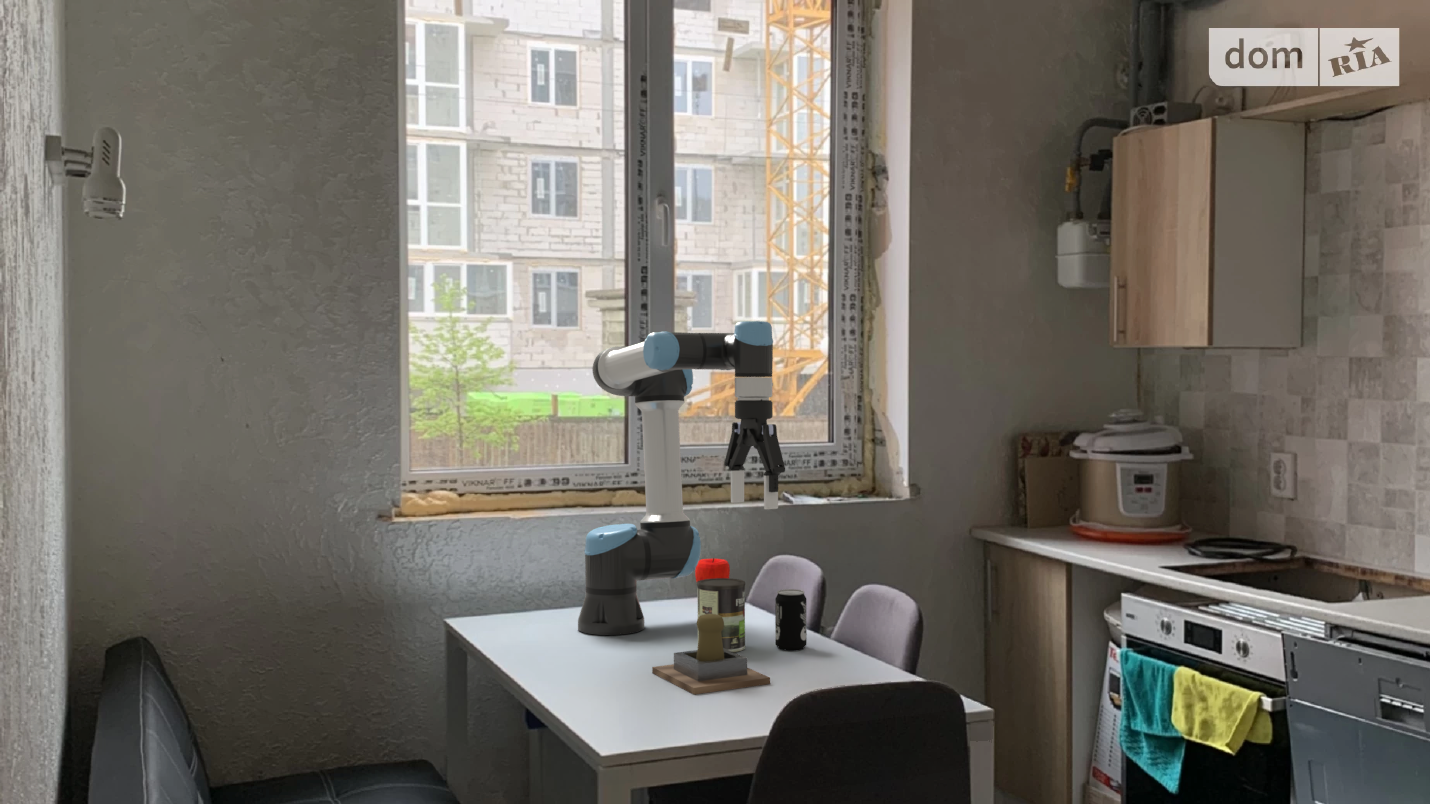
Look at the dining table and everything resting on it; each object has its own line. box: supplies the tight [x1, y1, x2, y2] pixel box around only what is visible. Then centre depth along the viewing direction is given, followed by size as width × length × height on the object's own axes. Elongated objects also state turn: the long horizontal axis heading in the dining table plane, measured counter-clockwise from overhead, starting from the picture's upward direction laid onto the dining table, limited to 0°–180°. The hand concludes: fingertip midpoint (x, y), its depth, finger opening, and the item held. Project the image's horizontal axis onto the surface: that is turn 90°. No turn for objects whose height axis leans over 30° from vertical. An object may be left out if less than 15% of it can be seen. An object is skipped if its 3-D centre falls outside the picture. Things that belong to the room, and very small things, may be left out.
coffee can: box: [696, 577, 746, 653], centre depth 258 cm, size 10×10×14 cm
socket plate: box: [651, 648, 771, 695], centre depth 232 cm, size 18×16×4 cm
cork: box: [696, 614, 725, 662], centre depth 232 cm, size 6×6×11 cm
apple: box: [694, 557, 731, 583], centre depth 313 cm, size 9×9×11 cm
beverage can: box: [774, 588, 808, 652], centre depth 258 cm, size 7×7×12 cm
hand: (753, 505), depth 243 cm, fingers open, 13 cm apart
